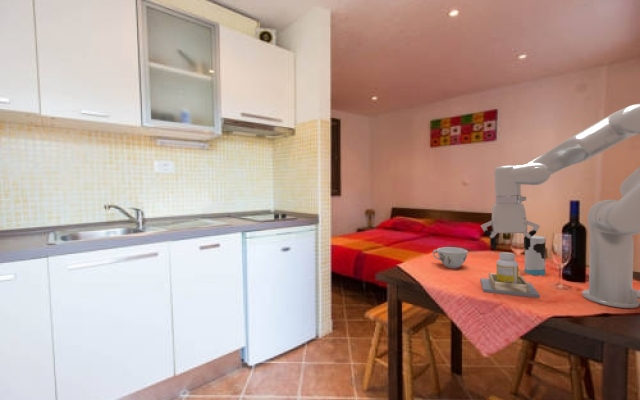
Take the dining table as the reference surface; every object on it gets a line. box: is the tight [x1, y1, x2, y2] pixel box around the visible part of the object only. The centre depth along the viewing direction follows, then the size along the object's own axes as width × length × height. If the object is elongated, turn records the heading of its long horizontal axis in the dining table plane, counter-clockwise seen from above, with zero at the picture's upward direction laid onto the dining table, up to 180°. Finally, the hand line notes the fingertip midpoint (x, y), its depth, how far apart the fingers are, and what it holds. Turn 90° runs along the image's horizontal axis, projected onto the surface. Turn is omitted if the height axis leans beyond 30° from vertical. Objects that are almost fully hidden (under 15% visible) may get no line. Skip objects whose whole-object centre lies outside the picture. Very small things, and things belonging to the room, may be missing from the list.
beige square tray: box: [488, 272, 529, 293], centre depth 102 cm, size 11×11×2 cm
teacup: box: [432, 246, 468, 269], centre depth 130 cm, size 15×12×8 cm
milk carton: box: [524, 235, 546, 276], centre depth 117 cm, size 7×7×15 cm
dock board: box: [479, 277, 541, 299], centre depth 102 cm, size 16×12×1 cm
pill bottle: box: [496, 251, 519, 284], centre depth 102 cm, size 6×6×12 cm
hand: (509, 248), depth 101 cm, fingers open, 9 cm apart
